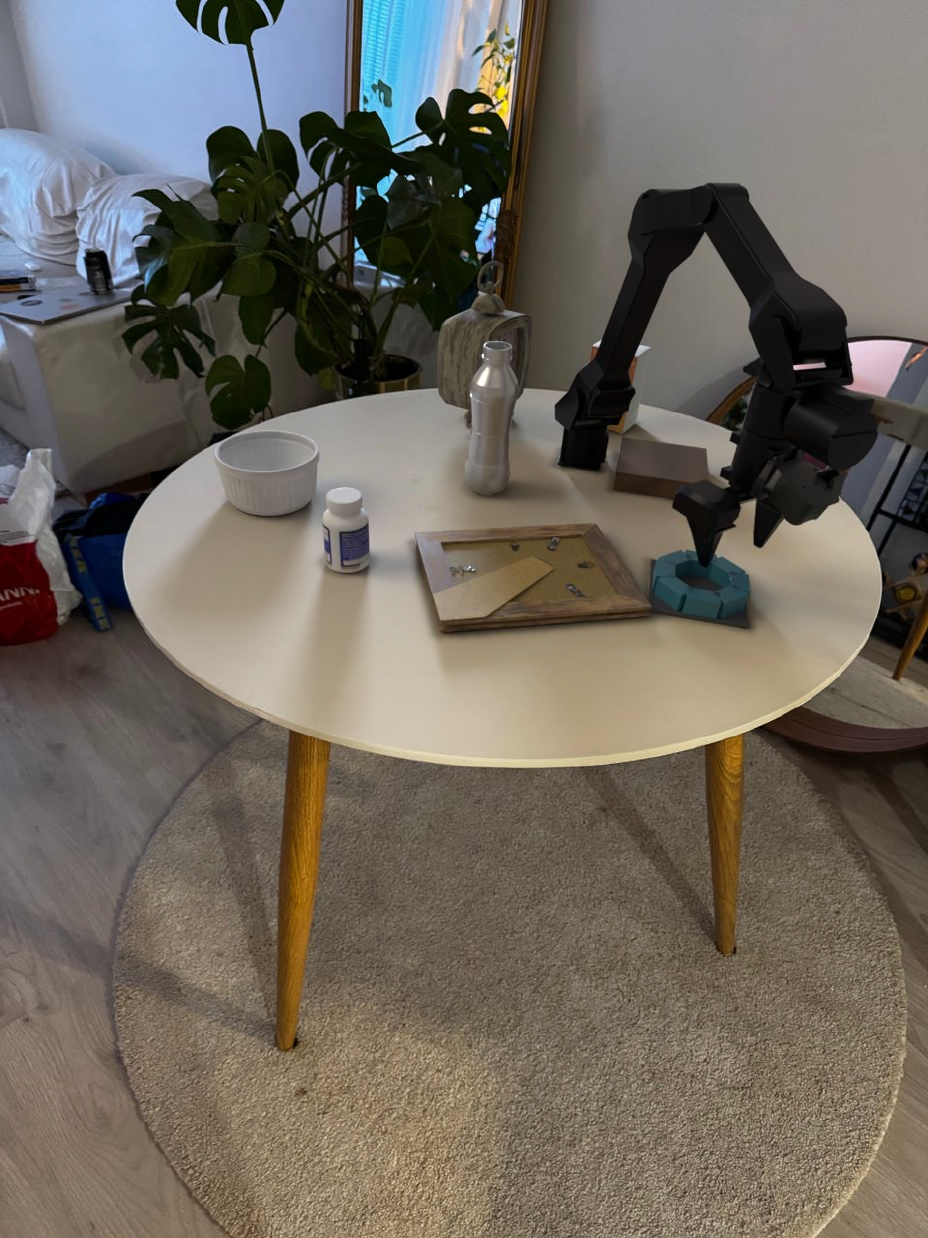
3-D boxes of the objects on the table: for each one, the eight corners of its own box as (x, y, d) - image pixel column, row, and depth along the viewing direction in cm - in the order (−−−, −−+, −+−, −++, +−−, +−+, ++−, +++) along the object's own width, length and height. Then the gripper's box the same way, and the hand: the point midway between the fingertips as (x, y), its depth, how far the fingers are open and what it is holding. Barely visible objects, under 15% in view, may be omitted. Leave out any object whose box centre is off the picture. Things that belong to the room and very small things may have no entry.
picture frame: (439, 634, 80) (649, 617, 84) (440, 620, 79) (652, 604, 83) (414, 542, 94) (594, 532, 99) (414, 530, 93) (596, 520, 98)
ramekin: (298, 468, 109) (294, 422, 105) (338, 507, 100) (336, 459, 96) (207, 487, 103) (199, 439, 99) (242, 531, 94) (234, 480, 90)
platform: (612, 490, 109) (615, 471, 107) (617, 454, 119) (621, 436, 117) (704, 504, 107) (709, 485, 105) (701, 466, 117) (706, 448, 115)
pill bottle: (377, 556, 91) (375, 489, 86) (358, 578, 87) (355, 510, 82) (337, 546, 92) (333, 480, 87) (317, 568, 88) (312, 500, 83)
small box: (578, 422, 129) (590, 344, 121) (593, 411, 133) (606, 335, 125) (623, 434, 125) (638, 355, 118) (636, 423, 130) (652, 346, 122)
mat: (648, 611, 85) (648, 608, 85) (650, 561, 94) (651, 558, 93) (748, 629, 83) (749, 626, 83) (741, 576, 92) (742, 573, 92)
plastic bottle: (456, 493, 105) (464, 348, 93) (473, 474, 110) (483, 334, 98) (499, 504, 104) (513, 357, 92) (515, 484, 109) (530, 342, 97)
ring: (651, 608, 85) (655, 592, 84) (653, 559, 93) (657, 544, 92) (747, 624, 83) (753, 608, 82) (741, 574, 92) (746, 558, 90)
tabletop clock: (478, 444, 119) (490, 274, 104) (431, 429, 123) (436, 263, 108) (523, 417, 129) (539, 258, 114) (478, 404, 133) (489, 249, 118)
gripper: (773, 478, 69) (728, 614, 78) (893, 442, 78) (840, 569, 87) (685, 433, 76) (654, 563, 86) (803, 405, 85) (763, 526, 94)
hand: (731, 556), depth 88 cm, fingers open, 9 cm apart
